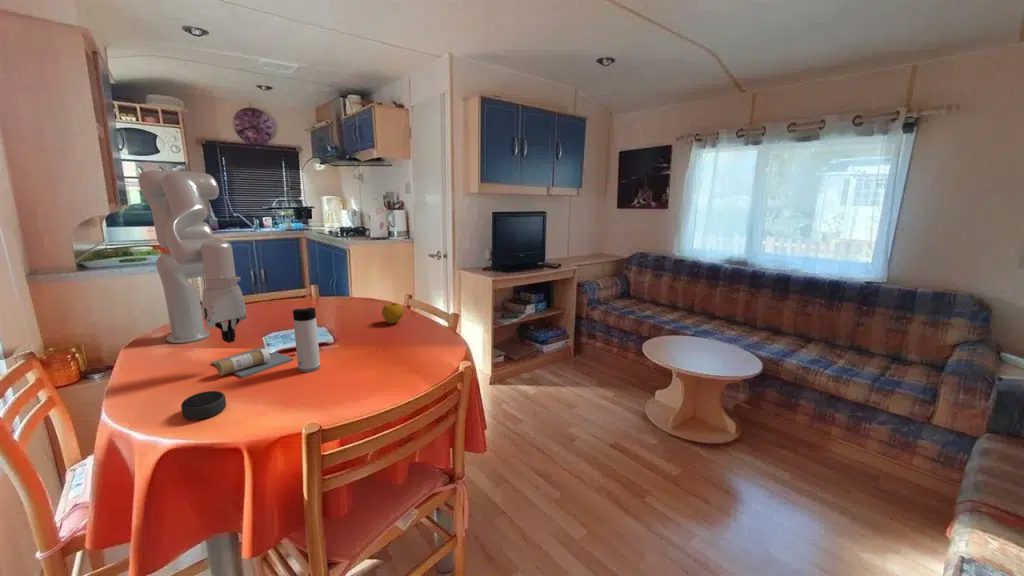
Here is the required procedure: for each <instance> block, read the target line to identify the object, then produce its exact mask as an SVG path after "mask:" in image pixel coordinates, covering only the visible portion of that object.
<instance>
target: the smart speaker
mask: <svg viewBox="0 0 1024 576" xmlns="http://www.w3.org/2000/svg"><path fill="white" fill-rule="evenodd" d="M226 406H227V401H226V396H225V394H224V393H223V392H221V391H216V390H208V391H202V392H198V393H196V394H192V395H190V396H189V397H187V398H186V399H184V400H183V401H182V402H181V405H180V407H181V413H182V416H183V418H184V419H186V420H189V419H191V420H190V421H195V420H194V419H201V420H204V419H203V418H206V419H208V418H207V417H210V418H212V417H214V415H215V416H217V415H219V414H221V412H224V410H225V409H226ZM218 413H219V414H218ZM216 414H217V415H216ZM211 416H212V417H211ZM192 419H193V420H192Z"/></svg>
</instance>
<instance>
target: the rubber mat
mask: <svg viewBox="0 0 1024 576" xmlns="http://www.w3.org/2000/svg"><path fill="white" fill-rule="evenodd" d="M260 349H268V347H267V348H266V347H264V346H261V347H257V348H254V349H251V350H248V351H244V352H240V353H237V354H234V355H230V356H227V357H225V358H221V359H218V360H214V361H211V365H213V366H215V367H216V363H217V361H222V360H226V359H229V358H232V357H236V356H240V355H243V354H247V353H252V352H255V351H258V350H260ZM275 352H276V353H269V352H268V353H269V356H270V360H269V362H267V363H262V364H258V365H255V366H251V367H248V368H245V369H242V370H239V371H235V372H231V373H230V374H232V375H234V376H236V377H240V378H241V379H244V378H247V377H249V376H253V375H254V374H258V373H261V372H263V371H266V370H270V369H272V368H274V367H278V366H281V365H283V364H287V363H289V362H292V361H294V357H290V356H287V355H285V354H282V353H280V352H277V351H275Z"/></svg>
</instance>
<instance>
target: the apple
mask: <svg viewBox="0 0 1024 576" xmlns="http://www.w3.org/2000/svg"><path fill="white" fill-rule="evenodd" d="M381 315H382V317H383V319H384V320H385V321H386V322H387V323H388V324H389V325H394V324H396V323H398V322H399V321H400V320H401V318H402V317H403V315H404V307H403V306H402V305H401V304H399V303H397V302H390V303H387V304H385V305H384V306H383V307H382V311H381Z"/></svg>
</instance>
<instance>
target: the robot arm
mask: <svg viewBox="0 0 1024 576" xmlns="http://www.w3.org/2000/svg"><path fill="white" fill-rule="evenodd" d="M138 186H139V188H140V191H141V194H142V195H143V197H144V199H145V200H146V202H147V203H148V205H149V207H150V211H151V214H152V219H153V225H154V230H155V234H156V235H155V236H156V240H157V243H158V245H159V246H160V247H161V248H162V249H165V250H169V253H165V254H163V255H160V256H159V257H157V259H156V261H155V266H156V270H157V273H158V276H159V278H160V281H161V284H162V287H163V293H164V299H165V303H166V309H167V315H168V321H169V327H170V334H169V335H168V336H167V337H166V341H167V342H168V343H171V344H185V343H191V342H195V341H196V342H198V341H200V340H203V339H205V338H206V339H207V338H208V337H209V336H210V334H211V333H210V330H209V329H205V327H207V328H216V329H219V330H220V332H221V339H222V340H223V342H226V343H228V344H229V343H234V342H235V338H236V332H235V331H236V330H235V329H236V328H237V325H238V324H239V323H240V322H242V321H243V320H245V319H247V315H246V313H247V310H246V309H247V308H246V303H245V299H244V296H243V292H242V289H241V286H240V285H238V282H240V281H241V279H242V277H241V276H237V274H236V267H235V260H234V259H235V258H234V253H233V251H234V250H233V246H232V244H231V243H230V242H228V241H226V240H225V239H223V238H220V237H214V232H213V230H212V227H211V226H210V224H208V223H207V222H205V219H207V217H208V213H209V211H208V208H207V206H206V205H205V202H204V200H216V199H217V198H218V197H219V195H220V187H219V185H218V182H217V180H216V179H215V177H214V176H212V175H211V174H209V173H205V172H198V171H189V170H188V171H186V170H184V171H183V170H181V171H180V170H165V169H163V170H162V169H160V170H159V169H155V170H154V169H153V170H145V171H141V172H140V173H139V175H138ZM203 277H204V283H205V288H204V289H203V290H202V295H201V301H200V294H199V289H198V288H197V287H196V286H195V285H194V284H192V283H191V282H189V281H188V280H189V279H194V278H195V279H196V278H203ZM201 306H202V307H201ZM203 321H206V322H205V327H204V322H203Z"/></svg>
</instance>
